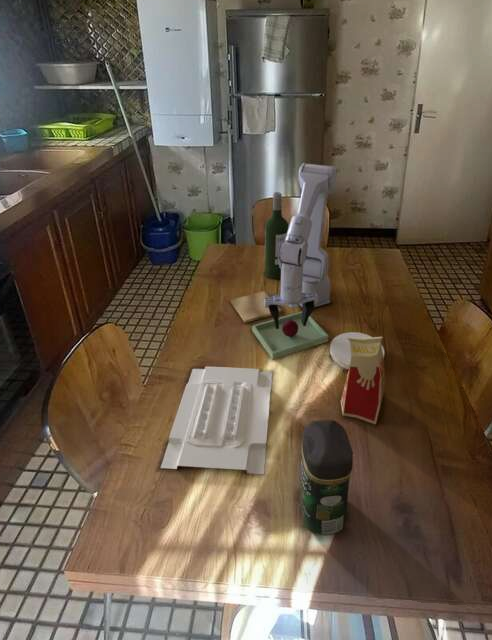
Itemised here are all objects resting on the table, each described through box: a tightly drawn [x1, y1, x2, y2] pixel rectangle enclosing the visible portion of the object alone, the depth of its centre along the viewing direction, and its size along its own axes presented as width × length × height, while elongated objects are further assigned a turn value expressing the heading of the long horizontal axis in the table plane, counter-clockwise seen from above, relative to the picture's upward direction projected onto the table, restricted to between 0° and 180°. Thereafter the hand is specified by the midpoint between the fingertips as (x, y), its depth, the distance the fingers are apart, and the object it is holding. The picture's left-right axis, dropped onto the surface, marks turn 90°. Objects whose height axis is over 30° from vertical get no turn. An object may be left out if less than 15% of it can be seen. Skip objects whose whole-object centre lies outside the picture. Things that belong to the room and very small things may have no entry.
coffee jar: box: [299, 419, 354, 536], centre depth 74 cm, size 10×8×19 cm
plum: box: [282, 320, 298, 337], centre depth 121 cm, size 5×5×5 cm
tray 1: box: [160, 366, 274, 475], centre depth 97 cm, size 20×28×4 cm
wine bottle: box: [264, 191, 289, 280], centre depth 147 cm, size 8×8×30 cm
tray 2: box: [251, 311, 330, 360], centre depth 122 cm, size 17×13×2 cm
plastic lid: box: [329, 331, 385, 371], centre depth 115 cm, size 14×14×2 cm
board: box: [230, 290, 283, 324], centre depth 135 cm, size 12×12×1 cm
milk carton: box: [340, 336, 386, 425], centre depth 96 cm, size 9×9×20 cm
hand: (290, 325), depth 121 cm, fingers open, 7 cm apart
